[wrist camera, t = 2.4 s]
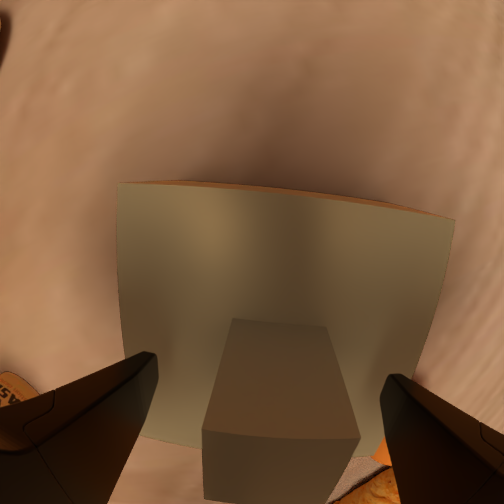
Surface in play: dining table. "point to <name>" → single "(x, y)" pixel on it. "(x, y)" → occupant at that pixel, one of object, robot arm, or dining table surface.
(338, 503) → the croissant
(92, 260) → the dining table surface
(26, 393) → the coffee cup
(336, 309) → the cover
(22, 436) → the robot arm
